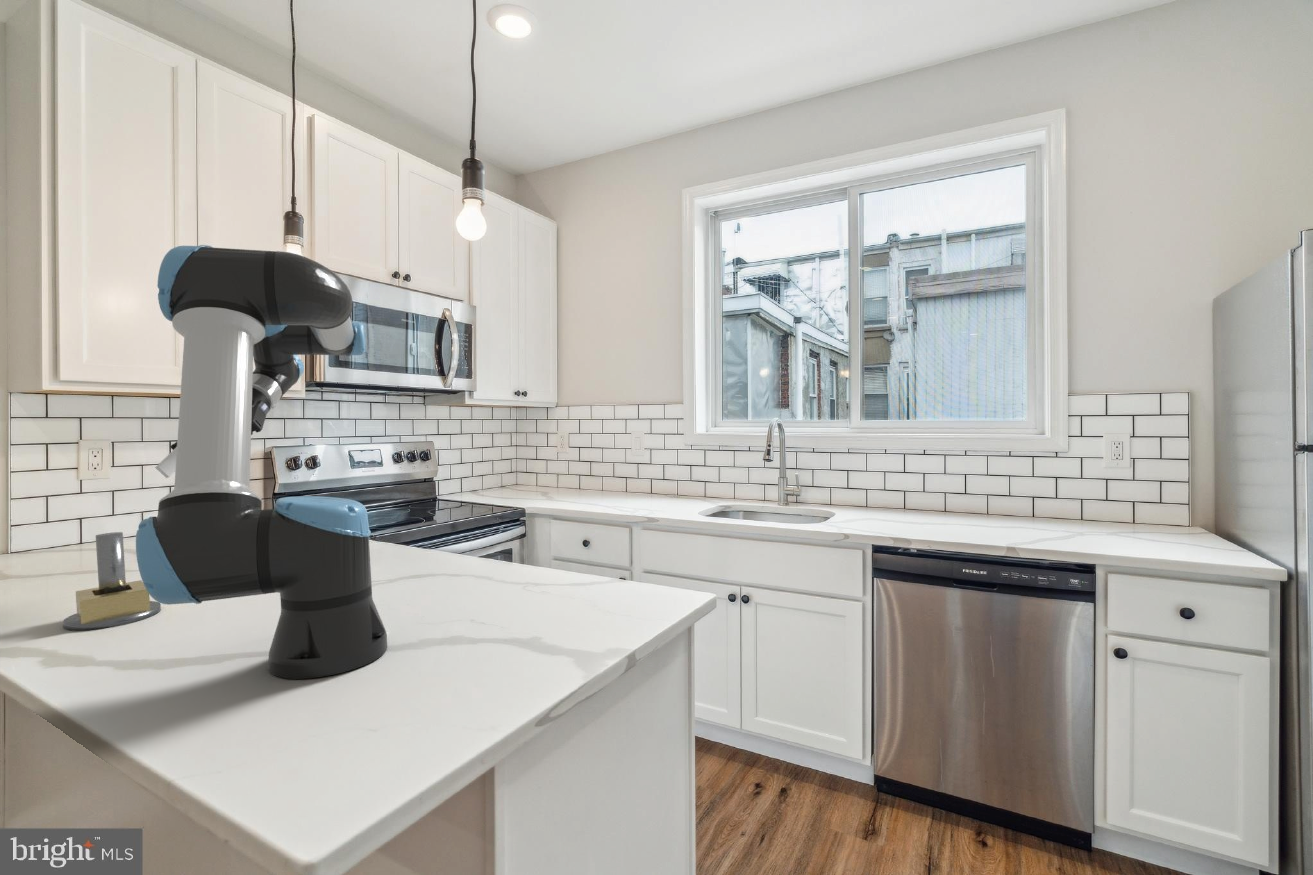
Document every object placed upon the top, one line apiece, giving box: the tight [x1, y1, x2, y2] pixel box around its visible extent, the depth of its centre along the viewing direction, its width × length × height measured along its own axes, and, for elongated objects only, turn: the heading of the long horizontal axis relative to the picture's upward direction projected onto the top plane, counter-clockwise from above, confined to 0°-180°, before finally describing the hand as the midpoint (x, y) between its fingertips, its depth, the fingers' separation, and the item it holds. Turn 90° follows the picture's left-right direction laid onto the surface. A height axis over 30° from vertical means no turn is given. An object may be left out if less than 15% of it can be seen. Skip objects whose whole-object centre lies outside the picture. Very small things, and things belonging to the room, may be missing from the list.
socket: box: [62, 579, 162, 632], centre depth 109 cm, size 13×13×5 cm
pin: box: [95, 531, 127, 595], centre depth 109 cm, size 4×4×14 cm
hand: (190, 463), depth 113 cm, fingers open, 13 cm apart
